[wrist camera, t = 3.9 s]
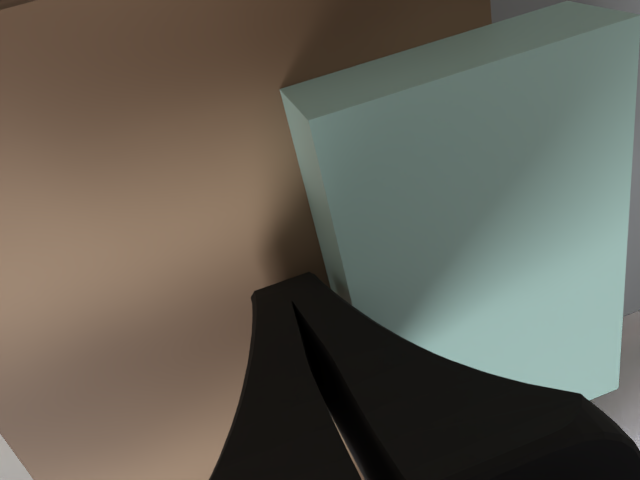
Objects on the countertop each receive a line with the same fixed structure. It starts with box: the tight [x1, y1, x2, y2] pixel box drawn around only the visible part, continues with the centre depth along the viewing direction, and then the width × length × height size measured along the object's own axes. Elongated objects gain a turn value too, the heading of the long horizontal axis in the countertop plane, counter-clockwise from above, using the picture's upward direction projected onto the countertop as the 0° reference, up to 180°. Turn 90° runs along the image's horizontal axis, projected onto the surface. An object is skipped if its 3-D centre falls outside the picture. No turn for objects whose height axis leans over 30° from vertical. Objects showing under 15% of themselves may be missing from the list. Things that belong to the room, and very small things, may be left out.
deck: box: [0, 0, 492, 480], centre depth 15 cm, size 15×12×4 cm
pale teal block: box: [280, 1, 640, 400], centre depth 13 cm, size 9×6×2 cm, turn 12°
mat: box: [490, 0, 640, 317], centre depth 18 cm, size 16×9×1 cm, turn 12°
